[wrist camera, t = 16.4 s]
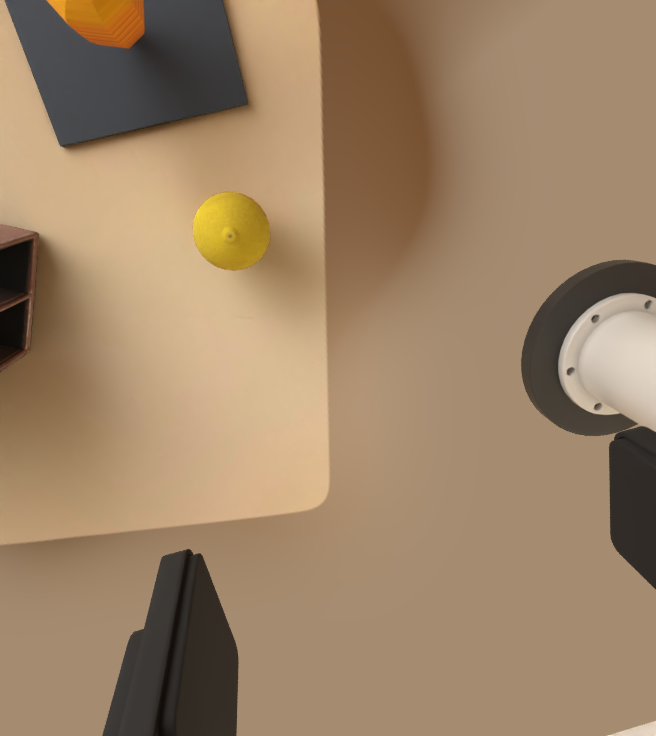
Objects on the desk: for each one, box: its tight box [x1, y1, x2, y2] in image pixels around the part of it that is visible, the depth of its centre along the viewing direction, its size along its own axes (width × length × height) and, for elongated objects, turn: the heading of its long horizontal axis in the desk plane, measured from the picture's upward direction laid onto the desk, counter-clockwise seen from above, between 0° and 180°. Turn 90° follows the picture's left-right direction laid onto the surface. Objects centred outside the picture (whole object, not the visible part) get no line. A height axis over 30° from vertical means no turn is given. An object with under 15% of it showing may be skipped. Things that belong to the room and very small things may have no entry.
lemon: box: [193, 192, 270, 270], centre depth 37 cm, size 6×6×8 cm
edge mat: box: [5, 0, 248, 147], centre depth 35 cm, size 14×12×1 cm
